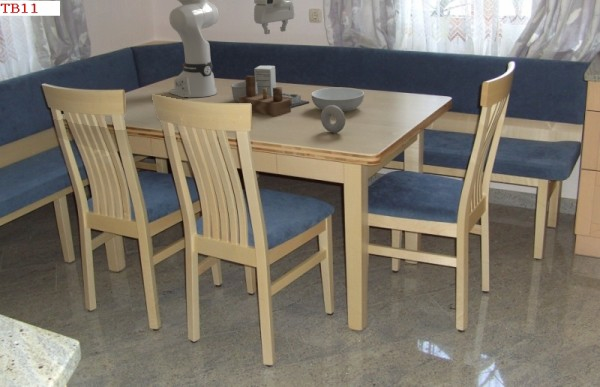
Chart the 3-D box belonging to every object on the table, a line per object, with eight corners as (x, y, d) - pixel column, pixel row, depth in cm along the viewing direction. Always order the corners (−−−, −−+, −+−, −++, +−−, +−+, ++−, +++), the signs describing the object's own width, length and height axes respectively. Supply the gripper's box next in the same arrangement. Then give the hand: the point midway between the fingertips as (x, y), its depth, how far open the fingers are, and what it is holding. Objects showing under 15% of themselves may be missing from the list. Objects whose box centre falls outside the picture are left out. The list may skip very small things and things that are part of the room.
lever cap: (276, 102, 307) (275, 93, 305) (285, 99, 310) (284, 90, 309) (292, 105, 301) (292, 96, 299) (301, 102, 304) (301, 93, 303)
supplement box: (260, 93, 325) (259, 65, 321) (276, 94, 323) (275, 65, 319) (255, 97, 318) (253, 68, 314) (271, 98, 316) (270, 68, 312)
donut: (319, 131, 264) (318, 104, 261) (324, 129, 267) (324, 102, 263) (341, 136, 258) (341, 108, 255) (347, 133, 261) (347, 105, 257)
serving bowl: (304, 114, 288) (303, 97, 286) (321, 102, 307) (321, 86, 304) (355, 118, 281) (355, 100, 279) (370, 105, 300) (370, 88, 297)
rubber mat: (268, 104, 305) (268, 103, 305) (287, 99, 314) (287, 97, 313) (289, 108, 298) (289, 107, 298) (309, 103, 306) (309, 101, 306)
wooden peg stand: (239, 109, 299) (237, 77, 295) (255, 105, 306) (253, 73, 301) (275, 116, 287) (273, 83, 282) (290, 111, 293) (289, 79, 288)
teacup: (254, 105, 305) (253, 86, 302) (229, 105, 307) (227, 86, 304) (262, 97, 318) (261, 79, 315) (238, 97, 320) (237, 79, 317)
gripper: (286, -5, 308) (286, 28, 313) (251, -1, 294) (252, 34, 299) (297, -4, 304) (297, 30, 309) (262, 0, 290) (263, 36, 295)
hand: (275, 32), depth 304 cm, fingers open, 8 cm apart
